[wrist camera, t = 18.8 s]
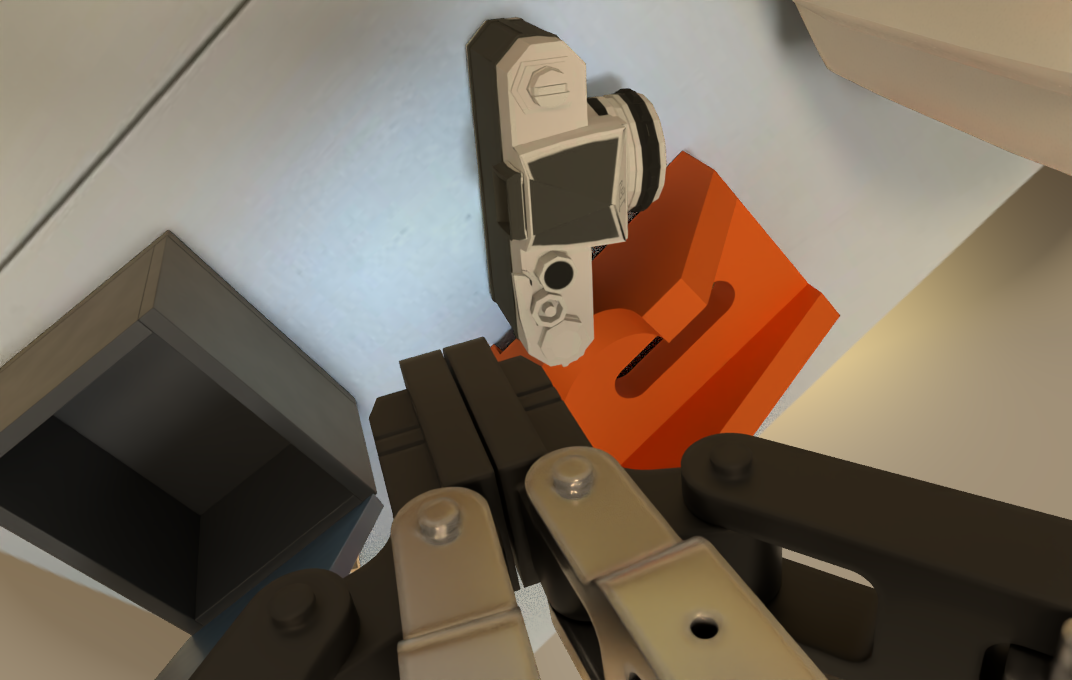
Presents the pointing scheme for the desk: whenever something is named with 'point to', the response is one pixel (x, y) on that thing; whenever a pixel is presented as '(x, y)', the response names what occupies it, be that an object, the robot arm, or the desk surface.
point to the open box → (174, 440)
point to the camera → (553, 179)
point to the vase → (961, 64)
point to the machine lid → (325, 552)
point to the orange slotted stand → (688, 326)
